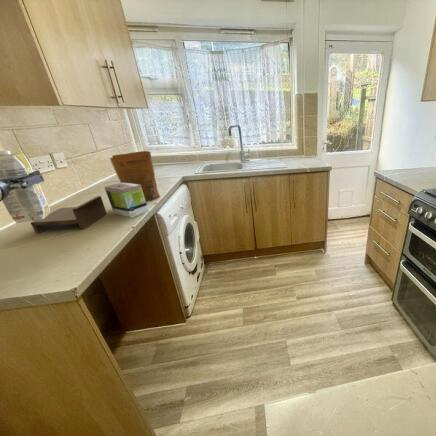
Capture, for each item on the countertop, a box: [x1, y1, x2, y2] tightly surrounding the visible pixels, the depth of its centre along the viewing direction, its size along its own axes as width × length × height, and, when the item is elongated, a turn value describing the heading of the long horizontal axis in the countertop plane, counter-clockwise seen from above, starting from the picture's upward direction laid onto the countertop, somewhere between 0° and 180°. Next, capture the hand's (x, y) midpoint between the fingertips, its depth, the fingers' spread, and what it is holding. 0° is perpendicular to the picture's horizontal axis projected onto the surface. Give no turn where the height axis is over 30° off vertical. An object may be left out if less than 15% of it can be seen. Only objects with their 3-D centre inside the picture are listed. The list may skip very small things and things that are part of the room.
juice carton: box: [0, 150, 51, 224], centre depth 84 cm, size 9×8×24 cm
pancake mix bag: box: [109, 150, 161, 202], centre depth 138 cm, size 7×19×28 cm, turn 116°
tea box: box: [104, 182, 149, 219], centre depth 123 cm, size 15×10×15 cm, turn 63°
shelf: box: [30, 195, 108, 234], centre depth 114 cm, size 20×18×10 cm
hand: (20, 175), depth 87 cm, fingers closed on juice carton, 9 cm apart
